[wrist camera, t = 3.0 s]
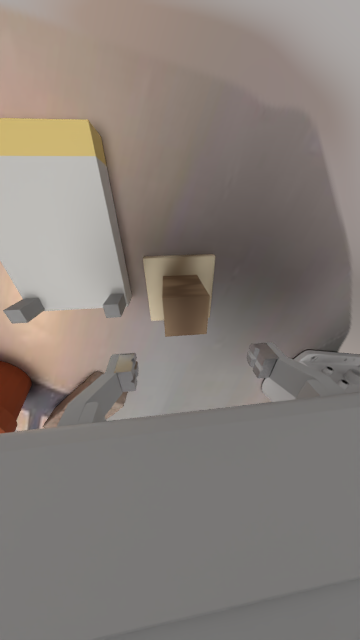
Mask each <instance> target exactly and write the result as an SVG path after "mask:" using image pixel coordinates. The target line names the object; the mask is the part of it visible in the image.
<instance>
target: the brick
mask: <svg viewBox="0 0 360 640" xmlns="http://www.w3.org/2000/svg"><path fill="white" fill-rule="evenodd" d="M102 374H103V373H101V372H95V373H93V374H92V375H90V376H89V377H88V378H87V380H86V381H85V382H84V383H83V384H81V385H80V386H79V387H78V388H77V389H76V390H74V391H73V392H72V393H71V394H70V395H69V396H68V397H66V398H65V399H64V400H63V401H62V402H61V403H60V404H59V405H58V406H57V407H56V408H55V409H54V410H53V412H52V413H51V415H50V416H49V418H48V419H47V421H46V422H45V423H44V426H43V427H44V428H52V427H57V425H58V423H59V421H60V419H61V417H62V415H63V413H64V411H65V409H66V407H67V405H68V404H69V403H70V402H71V401H72V400H73V399H74V398H76V397H77V396H78V395H79V394H80V393H81V392H82V391H84V390H85V389H86V388H87V387H88V386H89V385H91V384H92V383H93V382H94V381H95V380H96V379H97V378H99V377H100V376H101V375H102ZM127 393H128V392H122V394H121V396H120V397H119V398H118V400H117V401H116V402H115V403H114V405H113V406H112V407H111V409H110V410H109V411H108V413H107V414H106V415H105V418H106V419H107V418H109V417H110V416H112V415H113V414H115V412H117V411H119V409H120V408H122V407H123V406H124V402H125V399H126V396H127Z"/></svg>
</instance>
